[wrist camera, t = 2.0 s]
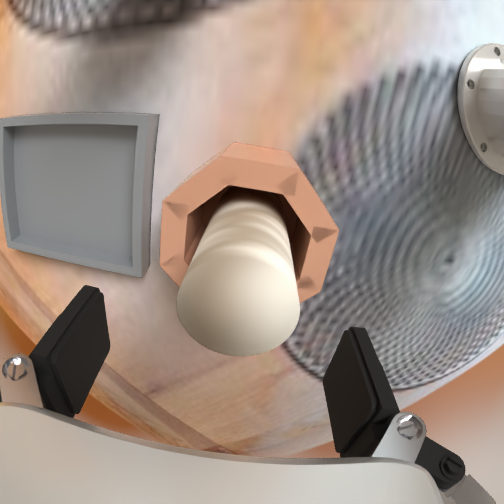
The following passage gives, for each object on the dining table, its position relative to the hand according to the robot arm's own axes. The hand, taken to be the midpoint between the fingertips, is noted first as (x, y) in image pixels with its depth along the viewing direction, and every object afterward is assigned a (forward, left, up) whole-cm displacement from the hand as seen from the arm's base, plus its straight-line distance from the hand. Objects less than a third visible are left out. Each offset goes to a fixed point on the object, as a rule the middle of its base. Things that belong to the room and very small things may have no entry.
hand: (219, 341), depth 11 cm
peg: (-1, 0, -13) cm, 13 cm away
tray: (+15, 0, -14) cm, 21 cm away
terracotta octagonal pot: (-1, 0, -14) cm, 14 cm away
